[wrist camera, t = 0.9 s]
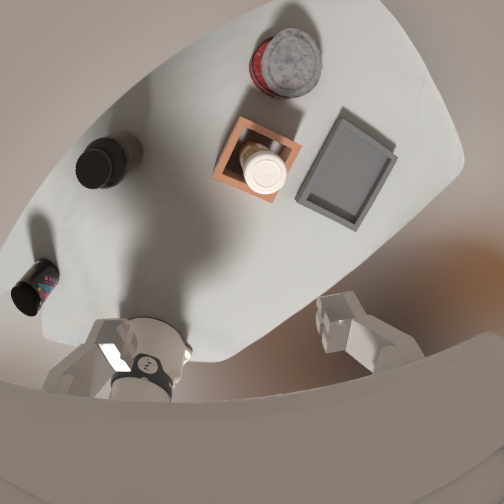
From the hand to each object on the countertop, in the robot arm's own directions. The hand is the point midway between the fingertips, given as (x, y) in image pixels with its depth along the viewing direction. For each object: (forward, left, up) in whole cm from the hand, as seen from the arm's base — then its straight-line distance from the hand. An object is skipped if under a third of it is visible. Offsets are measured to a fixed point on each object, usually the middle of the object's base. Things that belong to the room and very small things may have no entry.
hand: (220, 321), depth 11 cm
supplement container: (-32, +26, -33) cm, 53 cm away
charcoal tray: (+7, -19, -33) cm, 38 cm away
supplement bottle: (-4, +15, -33) cm, 37 cm away
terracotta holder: (+3, -4, -33) cm, 33 cm away
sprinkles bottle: (+3, -4, -33) cm, 33 cm away
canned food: (+18, -2, -33) cm, 38 cm away
